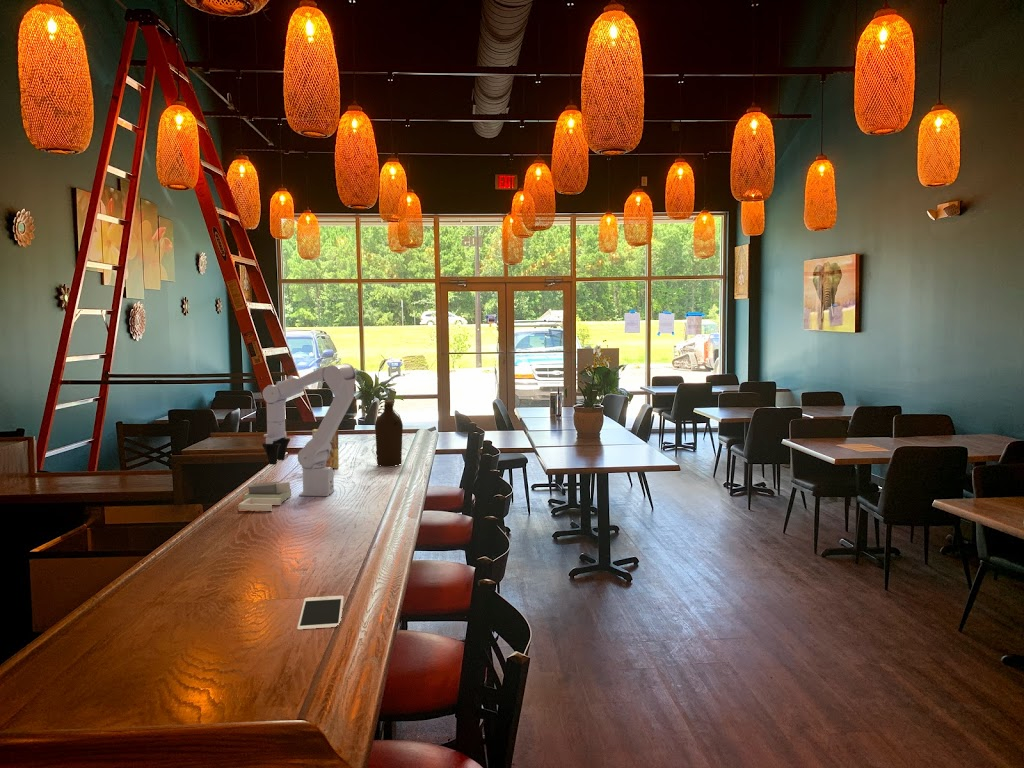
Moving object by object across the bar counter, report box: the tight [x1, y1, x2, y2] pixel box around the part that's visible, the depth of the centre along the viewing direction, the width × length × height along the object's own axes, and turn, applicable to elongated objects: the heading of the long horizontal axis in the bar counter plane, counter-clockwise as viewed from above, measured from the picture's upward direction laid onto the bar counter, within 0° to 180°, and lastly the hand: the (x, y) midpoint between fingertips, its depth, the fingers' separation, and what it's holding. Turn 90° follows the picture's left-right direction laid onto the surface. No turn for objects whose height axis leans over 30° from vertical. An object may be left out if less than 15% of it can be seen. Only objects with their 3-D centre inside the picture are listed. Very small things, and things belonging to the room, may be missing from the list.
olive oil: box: [374, 400, 404, 467], centre depth 297 cm, size 11×11×25 cm
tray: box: [243, 488, 292, 503], centre depth 240 cm, size 12×9×2 cm
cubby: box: [237, 498, 282, 512], centre depth 229 cm, size 10×8×2 cm
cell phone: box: [296, 595, 345, 631], centre depth 149 cm, size 8×16×1 cm, turn 10°
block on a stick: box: [248, 481, 291, 495], centre depth 240 cm, size 12×5×4 cm, turn 87°
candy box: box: [311, 428, 340, 469], centre depth 288 cm, size 9×4×15 cm, turn 129°
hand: (276, 462), depth 253 cm, fingers open, 7 cm apart
